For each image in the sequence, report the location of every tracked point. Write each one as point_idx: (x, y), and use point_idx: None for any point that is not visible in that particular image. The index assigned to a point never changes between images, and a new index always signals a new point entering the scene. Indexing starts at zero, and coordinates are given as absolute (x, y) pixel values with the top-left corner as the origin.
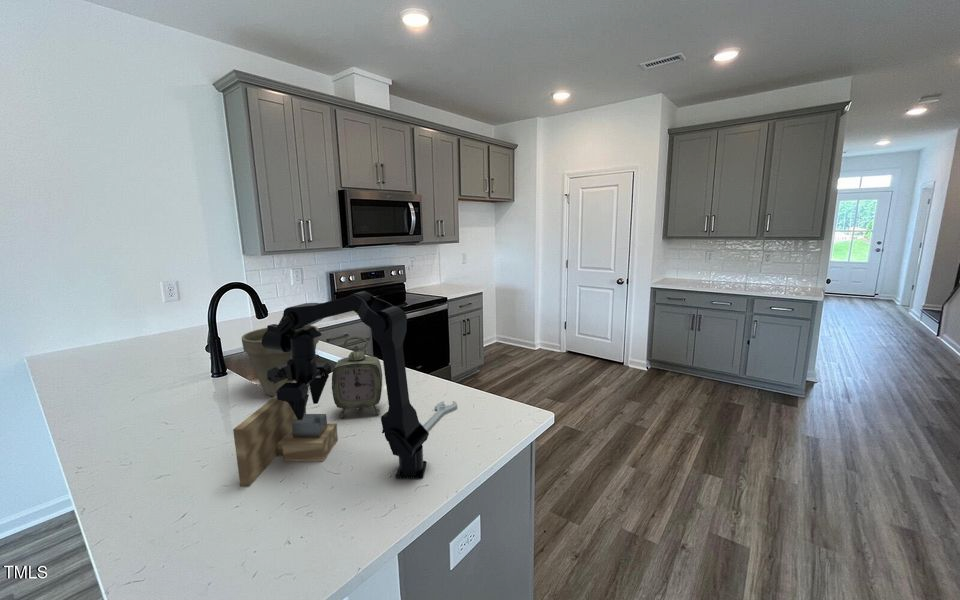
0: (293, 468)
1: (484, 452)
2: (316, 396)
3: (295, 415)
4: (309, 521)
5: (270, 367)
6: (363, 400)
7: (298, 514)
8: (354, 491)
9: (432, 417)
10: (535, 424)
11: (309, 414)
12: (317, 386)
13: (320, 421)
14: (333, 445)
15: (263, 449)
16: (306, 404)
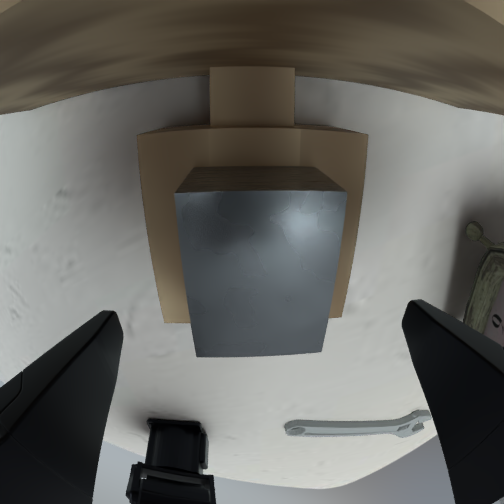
0: (123, 193)
1: (245, 474)
2: (431, 365)
3: (72, 332)
4: (5, 319)
5: None
6: (483, 329)
7: (5, 295)
8: None
9: (374, 428)
10: (316, 487)
11: (329, 261)
12: (473, 439)
13: (229, 353)
14: None
15: (73, 83)
16: (95, 470)
